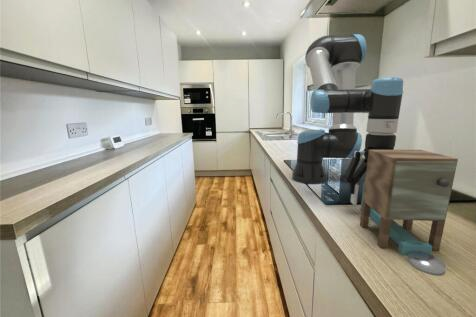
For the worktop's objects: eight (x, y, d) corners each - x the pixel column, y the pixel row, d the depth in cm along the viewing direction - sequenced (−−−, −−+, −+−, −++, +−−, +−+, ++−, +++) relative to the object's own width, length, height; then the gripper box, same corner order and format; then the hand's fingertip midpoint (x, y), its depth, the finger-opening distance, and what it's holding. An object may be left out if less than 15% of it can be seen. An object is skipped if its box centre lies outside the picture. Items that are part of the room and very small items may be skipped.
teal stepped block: (357, 210, 73) (361, 181, 71) (376, 211, 72) (380, 181, 70) (402, 254, 50) (409, 214, 48) (430, 256, 50) (438, 215, 48)
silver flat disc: (401, 255, 50) (402, 249, 50) (430, 257, 50) (431, 251, 49) (419, 274, 45) (420, 268, 44) (452, 277, 44) (453, 270, 44)
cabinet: (359, 224, 64) (368, 149, 59) (408, 226, 62) (420, 149, 58) (384, 252, 51) (398, 160, 46) (445, 255, 50) (465, 160, 45)
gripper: (345, 135, 62) (338, 207, 67) (432, 134, 60) (419, 210, 65) (335, 132, 70) (330, 198, 74) (413, 132, 68) (403, 200, 72)
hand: (371, 203), depth 70 cm, fingers open, 10 cm apart
